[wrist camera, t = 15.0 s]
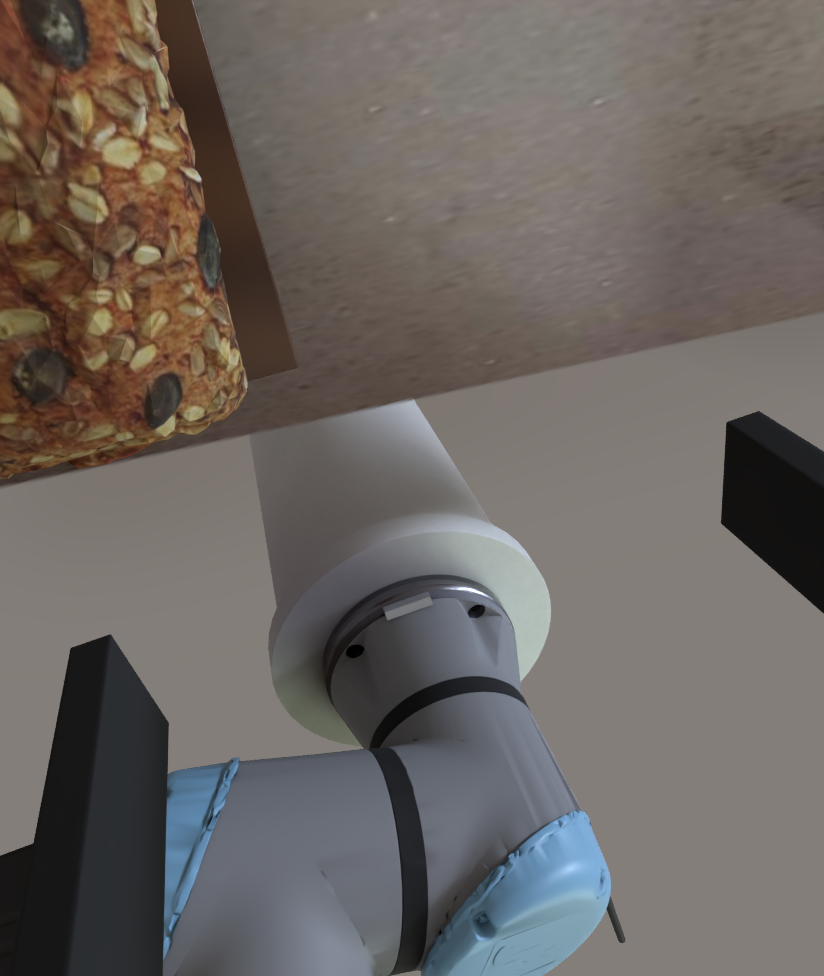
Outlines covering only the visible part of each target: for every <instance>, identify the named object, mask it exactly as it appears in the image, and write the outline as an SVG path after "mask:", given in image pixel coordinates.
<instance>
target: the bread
mask: <svg viewBox="0 0 824 976" xmlns="http://www.w3.org/2000/svg"><path fill="white" fill-rule="evenodd" d="M156 18H157V10H156V5H155V0H0V479H8V478H10V477H11V476H13V475H14V474H16V473H22V472H28V471H35V470H40V469H46V468H50V467H52V466H55V465H57V464H60V463H62V462H67V463H71V464H72V465H74V466H75V467H77V468H78V469H80V468H85V467H90V466H97V465H105V464H109V463H110V462H112V461H114V460H116V459H121V458H125V457H129V456H131V455H133V454H135V453H137V452H139V451H142V450H144V449H146V448H147V447H148V446H150V445H151V444H152V443H156V442H160V441H164V440H168V439H170V438H172V437H173V436H175V435H176V434H188V435H196V434H198V433H199V432H201V431H203V430H204V429H206V428H207V427H208V426H209V424H210V423H212V422H216V421H220V420H224V419H225V418H226V417H228V416H229V415H230V414H231V413H232V412H233V411H234V410H236V409H237V407H238V406H239V404H240V403H241V401H242V400H243V398H244V397H245V395H246V392H247V386H248V384H247V378H246V373H245V368H244V367H243V365H242V358H241V355H240V350H239V347H238V344H237V341H236V339H235V330H234V326H233V323H232V320H231V316H230V311H229V307H228V301H227V295H226V289H225V283H224V280H223V277H222V272H221V269H220V250H221V248H220V244H219V241H218V238H217V235H216V231H215V228H214V225H213V224H212V222H211V220H210V219H209V217H208V216H207V214H206V212H205V204H204V196H203V189H202V187H201V183H202V179H201V177H200V176H199V174H198V172H197V171H196V169H195V150H194V147H193V145H192V142H191V139H190V136H189V133H188V129H187V125H186V120H185V116H184V112H183V109H182V108H181V107H180V105H179V104H178V103H177V101H176V100H175V98H174V96H173V93H172V89H171V86H170V83H169V80H168V77H167V74H168V71H169V59H168V47H167V46H166V45H165V44H164V43H163V42H162V41H161V40H160V36H159V31H158V26H157V20H156Z"/></svg>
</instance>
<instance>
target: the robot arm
mask: <svg viewBox="0 0 824 976" xmlns="http://www.w3.org/2000/svg"><path fill="white" fill-rule="evenodd" d="M725 443H726V444H725V460H724V479H723V498H722V516H721V523H722V525H724V526H725V527H726V528H727V529H728V530H729V531H730V532H732V533H733V534H734V535H735V536H736V537H737V538H738V539H740V540H741V541H742V542H743V543H744V544H745V545H746V546H748V547H749V548H750V549H751V550H752V551H753V552H754V553H755V554H757V555H758V556H759V557H760V558H761V559H762V560H763V561H765V562H766V563H767V564H768V565H769V566H770V567H771V568H772V569H774V570H775V571H776V572H777V573H778V574H779V575H781V576H782V577H783V578H784V579H785V580H786V581H787V582H788V583H790V584H791V585H792V586H793V587H794V588H795V589H796V590H798V591H799V592H800V593H801V594H802V595H803V596H804V597H805V598H807V599H808V600H809V601H810V602H811V603H812V604H813V605H815V606H816V607H817V608H818V609H819V610H820V611H821V612H823V613H824V452H823V451H822V450H820V449H818V448H817V447H815V446H813V445H812V444H811V443H809V442H807V441H806V440H804V439H803V438H801V437H799V436H798V435H796V434H795V433H793V432H791V431H790V430H788V429H786V428H785V427H783V426H782V425H780V424H779V423H777V422H776V421H774V420H772V419H771V418H769V417H768V416H766V415H764V414H763V413H761V412H760V411H758V412H755V413H752V414H749V415H746V416H743V417H740V418H737V419H735V420H732V421H729V422H727V424H726V442H725ZM323 674H324V679H325V684H326V688H327V692H328V696H329V699H330V701H331V703H332V705H333V706H334V708H335V709H336V711H337V712H338V713H339V715H340V716H341V718H342V719H343V720H344V722H345V723H346V725H347V726H348V727H349V729H350V730H351V732H352V733H353V734H354V736H355V737H356V739H357V740H358V741H359V743H360V744H361V745H362V747H363V748H364V749H360V750H351V751H342V752H333V753H324V754H315V755H306V756H305V755H304V756H294V757H282V758H272V759H261V760H250V761H240V758H233V759H231V760H230V761H229V762H227V763H220V764H214V765H208V766H201V767H195V768H188V769H182V770H178V771H174V772H172V773H169V774H167V771H168V727H169V723H168V721H167V720H166V718H165V717H164V715H163V714H162V712H161V710H160V709H159V707H158V706H157V704H156V703H155V701H154V700H153V698H152V697H151V695H150V694H149V692H148V691H147V689H146V688H145V686H144V684H143V683H142V681H141V680H140V678H139V677H138V675H137V674H136V672H135V671H134V669H133V668H132V666H131V665H130V663H129V662H128V660H127V658H126V657H125V655H124V654H123V652H122V651H121V649H120V648H119V646H118V645H117V643H116V642H115V640H114V639H113V637H112V636H111V635H107V636H104V637H101V638H98V639H96V640H93V641H90V642H87V643H84V644H81V645H78V646H75V647H72V648H71V649H70V654H69V660H68V665H67V670H66V675H65V681H64V686H63V691H62V697H61V702H60V707H59V712H58V718H57V723H56V728H55V733H54V739H53V744H52V749H51V755H50V760H49V765H48V770H47V776H46V781H45V786H44V791H43V797H42V802H41V807H40V812H39V817H38V823H37V828H36V833H35V838H34V843H33V844H31V845H28V846H25V847H23V848H20V849H17V850H15V851H12V852H9V853H7V854H4V855H1V856H0V976H391V975H396V974H400V973H405V972H410V971H416V970H419V971H421V976H543V975H544V974H546V973H547V972H549V971H550V970H551V969H553V968H554V967H556V966H557V965H558V964H560V963H561V962H562V961H563V960H564V959H566V958H567V957H568V956H569V955H570V954H572V953H573V952H574V951H575V950H576V949H577V948H578V947H579V946H580V945H581V944H582V943H583V942H584V941H585V940H586V939H587V938H588V936H589V935H590V934H591V933H592V932H593V930H594V929H595V927H596V926H597V925H598V923H599V922H600V920H601V919H602V917H603V914H604V912H605V910H606V908H607V911H608V914H609V917H610V919H611V922H612V924H613V927H614V930H615V933H616V935H617V938H618V941H619V942H620V943H624V942H625V937H624V934H623V931H622V928H621V925H620V923H619V920H618V917H617V914H616V912H615V908H614V906H613V902H612V900H611V897H610V893H611V881H610V874H609V870H608V867H607V865H606V862H605V860H604V858H603V855H602V853H601V850H600V848H599V845H598V843H597V841H596V838H595V836H594V834H593V831H592V829H591V823H590V820H589V817H588V816H587V814H586V813H584V811H582V810H581V807H580V805H579V804H578V802H577V800H576V798H575V796H574V794H573V792H572V790H571V788H570V786H569V784H568V783H567V780H566V779H565V777H564V775H563V773H562V771H561V769H560V767H559V765H558V763H557V761H556V759H555V757H554V755H553V753H552V751H551V750H550V748H549V746H548V744H547V742H546V740H545V738H544V736H543V734H542V732H541V730H540V728H539V726H538V724H537V723H536V721H535V719H534V717H533V715H532V713H531V712H530V709H529V708H528V706H527V704H526V701H525V699H524V698H523V695H522V693H521V686H520V675H519V666H518V657H517V648H516V639H515V632H514V628H513V625H512V622H511V620H510V618H509V616H508V615H507V613H506V611H505V609H504V607H503V606H502V604H501V602H500V601H499V599H498V598H497V597H496V596H495V595H494V593H493V592H491V591H490V590H489V589H488V588H486V587H485V586H483V585H482V584H480V583H478V582H476V581H473V580H471V579H468V578H464V577H460V576H454V575H442V574H437V575H424V576H417V577H412V578H408V579H405V580H401V581H398V582H395V583H393V584H390V585H388V586H386V587H383V588H381V589H379V590H377V591H376V592H374V593H372V594H370V595H369V596H367V597H366V598H364V599H363V600H361V601H360V602H359V603H357V604H356V605H355V606H354V607H353V608H352V609H350V610H349V611H348V612H347V613H346V614H345V615H344V616H343V618H342V619H341V620H340V621H339V622H338V624H337V625H336V627H335V628H334V630H333V631H332V633H331V635H330V637H329V639H328V641H327V644H326V646H325V650H324V654H323Z"/></svg>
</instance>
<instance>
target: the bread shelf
mask: <svg viewBox="0 0 824 976" xmlns="http://www.w3.org/2000/svg"><path fill="white" fill-rule="evenodd" d="M155 5H156V10H157V18H156V20H157V26H158V31H159V36H160V40H161V41H162V42H163V43H164V44H165V45H166V46H167V47H168V59H169V71H168V74H167V77H168V80H169V83H170V86H171V89H172V93H173V96H174V98H175V100H176V101H177V103H178V104H179V105H180V107H181V108H182V109H183V112H184V116H185V120H186V125H187V129H188V133H189V136H190V139H191V142H192V145H193V147H194V150H195V169H196V171H197V172H198V174H199V176H200V177H201V179H202V183H201V187H202V189H203V196H204V204H205V212H206V214H207V216H208V217H209V219H210V220H211V222H212V224H213V225H214V228H215V231H216V235H217V238H218V241H219V244H220V248H221V250H220V269H221V272H222V277H223V280H224V283H225V289H226V295H227V301H228V307H229V311H230V316H231V320H232V323H233V326H234V330H235V339H236V341H237V344H238V347H239V350H240V355H241V358H242V365H243V367H244V368H245V373H246V378H247V381H250V380H254V379H258V378H261V377H265V376H269V375H272V374H276V373H280V372H283V371H287V370H291V369H294V368H298V362H297V359H296V355H295V352H294V348H293V345H292V342H291V338H290V335H289V331H288V328H287V324H286V321H285V317H284V314H283V310H282V307H281V303H280V300H279V296H278V293H277V289H276V286H275V283H274V279H273V276H272V272H271V269H270V265H269V262H268V258H267V255H266V251H265V248H264V244H263V241H262V237H261V234H260V231H259V227H258V224H257V220H256V217H255V213H254V210H253V206H252V203H251V199H250V196H249V192H248V189H247V185H246V182H245V178H244V175H243V172H242V168H241V165H240V161H239V158H238V154H237V151H236V147H235V144H234V140H233V137H232V133H231V130H230V126H229V123H228V120H227V116H226V113H225V109H224V106H223V102H222V99H221V95H220V92H219V88H218V85H217V81H216V78H215V74H214V71H213V67H212V64H211V61H210V57H209V54H208V50H207V47H206V43H205V40H204V36H203V33H202V29H201V26H200V22H199V19H198V15H197V12H196V9H195V5H194V2H193V0H155Z"/></svg>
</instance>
